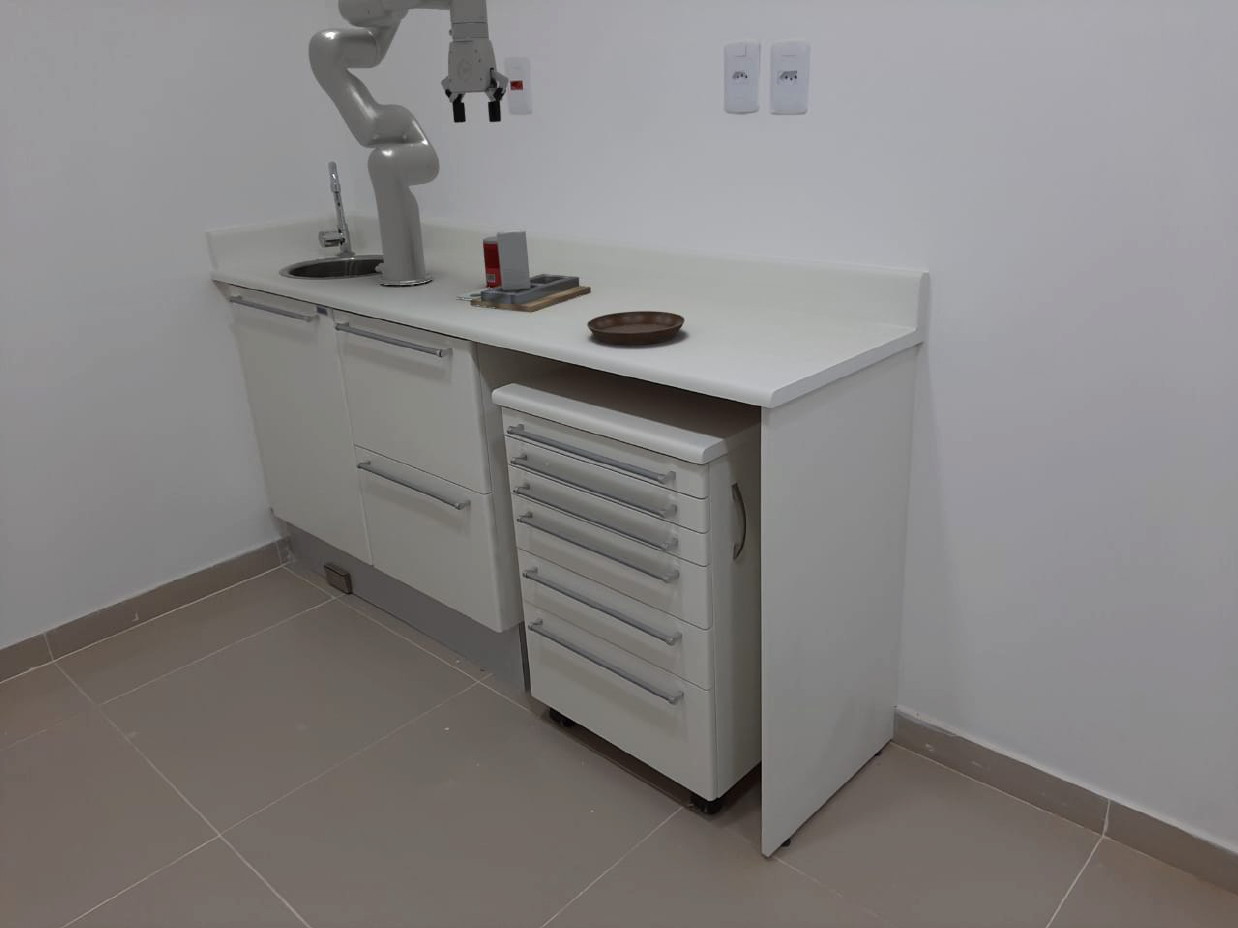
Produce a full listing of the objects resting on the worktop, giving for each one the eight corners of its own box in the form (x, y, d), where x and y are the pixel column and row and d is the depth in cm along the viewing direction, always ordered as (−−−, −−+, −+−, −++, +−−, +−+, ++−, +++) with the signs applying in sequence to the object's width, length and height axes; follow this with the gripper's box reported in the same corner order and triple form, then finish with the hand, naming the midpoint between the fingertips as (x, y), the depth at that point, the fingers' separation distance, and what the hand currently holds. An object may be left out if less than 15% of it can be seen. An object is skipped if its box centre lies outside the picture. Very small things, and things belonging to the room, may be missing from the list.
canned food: (519, 289, 221) (515, 240, 217) (484, 290, 221) (480, 241, 217) (522, 282, 228) (519, 235, 224) (489, 283, 228) (485, 236, 224)
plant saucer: (567, 340, 175) (566, 323, 174) (630, 321, 187) (630, 306, 186) (642, 354, 164) (642, 336, 163) (704, 333, 176) (704, 317, 175)
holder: (470, 305, 205) (469, 290, 204) (533, 287, 222) (532, 273, 221) (530, 312, 197) (529, 296, 196) (590, 292, 214) (590, 278, 213)
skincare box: (530, 285, 207) (526, 228, 202) (530, 289, 203) (526, 231, 198) (501, 287, 206) (497, 229, 202) (501, 291, 202) (496, 232, 198)
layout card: (456, 299, 212) (456, 295, 212) (485, 290, 220) (485, 287, 220) (481, 301, 209) (480, 298, 208) (509, 293, 216) (509, 289, 216)
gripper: (426, 36, 200) (434, 123, 206) (491, 31, 191) (498, 122, 198) (450, 37, 206) (458, 122, 212) (514, 32, 197) (520, 121, 203)
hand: (477, 122), depth 205 cm, fingers open, 9 cm apart
